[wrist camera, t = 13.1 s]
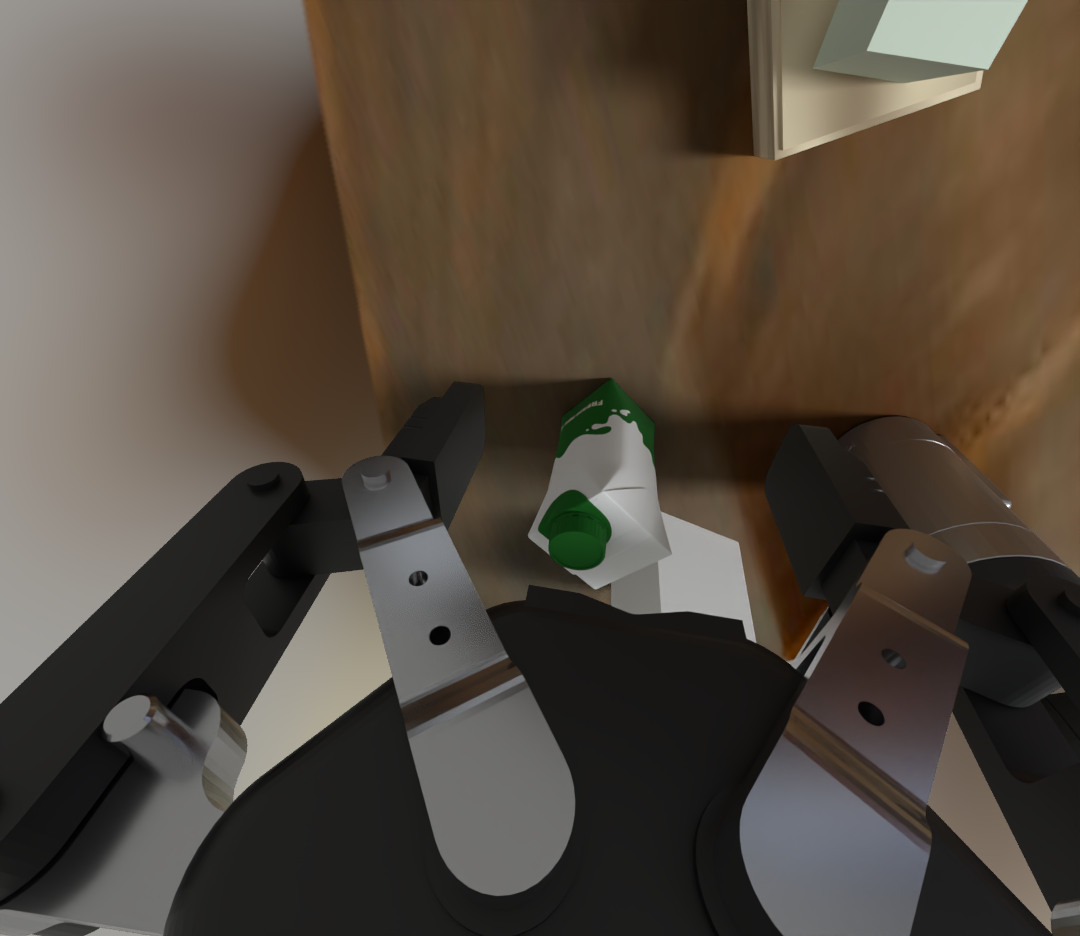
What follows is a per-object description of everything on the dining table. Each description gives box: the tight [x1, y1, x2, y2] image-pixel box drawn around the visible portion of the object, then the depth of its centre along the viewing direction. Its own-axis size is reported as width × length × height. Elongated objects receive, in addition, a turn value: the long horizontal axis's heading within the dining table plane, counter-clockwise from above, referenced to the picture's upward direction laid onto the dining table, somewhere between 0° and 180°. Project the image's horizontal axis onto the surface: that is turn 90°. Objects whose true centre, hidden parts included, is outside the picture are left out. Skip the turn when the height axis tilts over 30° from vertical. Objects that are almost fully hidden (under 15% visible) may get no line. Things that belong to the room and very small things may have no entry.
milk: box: [611, 512, 756, 643], centre depth 47 cm, size 12×12×26 cm
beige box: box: [747, 0, 983, 160], centre depth 25 cm, size 10×10×6 cm
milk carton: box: [528, 378, 672, 590], centre depth 38 cm, size 9×9×20 cm
